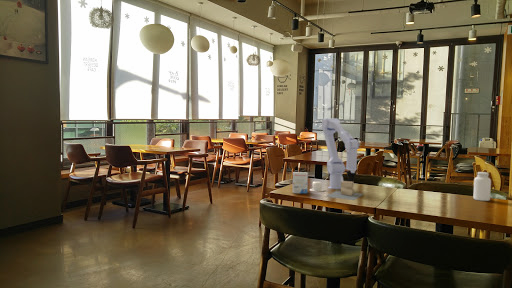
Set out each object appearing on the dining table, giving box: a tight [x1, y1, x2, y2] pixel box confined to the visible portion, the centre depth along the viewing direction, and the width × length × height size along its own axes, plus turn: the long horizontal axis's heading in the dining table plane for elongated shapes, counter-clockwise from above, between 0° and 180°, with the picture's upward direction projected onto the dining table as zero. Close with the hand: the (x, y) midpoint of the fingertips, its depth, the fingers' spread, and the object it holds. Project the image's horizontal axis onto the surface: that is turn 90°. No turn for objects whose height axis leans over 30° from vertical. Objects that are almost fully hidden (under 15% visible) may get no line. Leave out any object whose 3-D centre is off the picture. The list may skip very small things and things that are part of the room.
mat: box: [324, 190, 364, 201], centre depth 216 cm, size 20×16×1 cm
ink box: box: [292, 171, 309, 195], centre depth 223 cm, size 9×5×12 cm, turn 84°
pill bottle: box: [472, 171, 492, 202], centre depth 212 cm, size 8×8×15 cm
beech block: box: [340, 180, 355, 195], centre depth 219 cm, size 4×6×7 cm, turn 60°
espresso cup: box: [309, 181, 325, 192], centre depth 231 cm, size 9×9×5 cm
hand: (350, 183), depth 225 cm, fingers closed
